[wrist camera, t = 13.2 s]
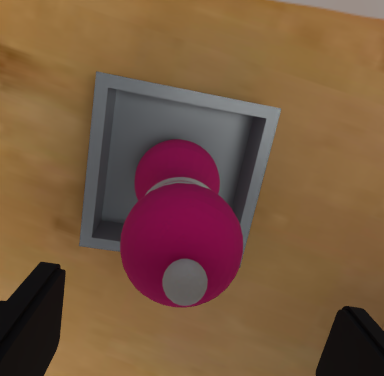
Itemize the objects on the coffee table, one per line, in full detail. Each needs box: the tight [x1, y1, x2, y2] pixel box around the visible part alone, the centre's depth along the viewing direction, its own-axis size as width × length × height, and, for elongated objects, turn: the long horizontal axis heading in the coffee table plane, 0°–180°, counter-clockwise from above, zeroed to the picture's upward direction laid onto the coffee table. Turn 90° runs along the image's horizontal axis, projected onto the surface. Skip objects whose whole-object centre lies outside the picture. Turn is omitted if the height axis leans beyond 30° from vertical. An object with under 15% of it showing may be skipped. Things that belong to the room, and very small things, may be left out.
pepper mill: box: [120, 139, 243, 307], centre depth 21 cm, size 7×7×20 cm
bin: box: [79, 72, 281, 268], centre depth 29 cm, size 15×15×5 cm
